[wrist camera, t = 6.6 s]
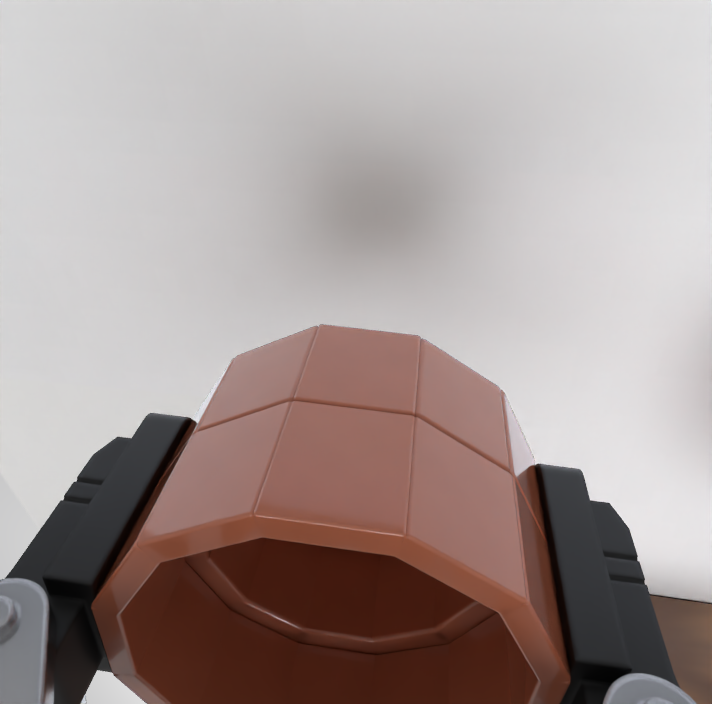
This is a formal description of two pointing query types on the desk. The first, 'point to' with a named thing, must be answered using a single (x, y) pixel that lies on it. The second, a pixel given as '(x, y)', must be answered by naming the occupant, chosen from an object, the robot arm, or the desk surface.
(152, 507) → the bowl
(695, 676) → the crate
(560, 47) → the desk surface
